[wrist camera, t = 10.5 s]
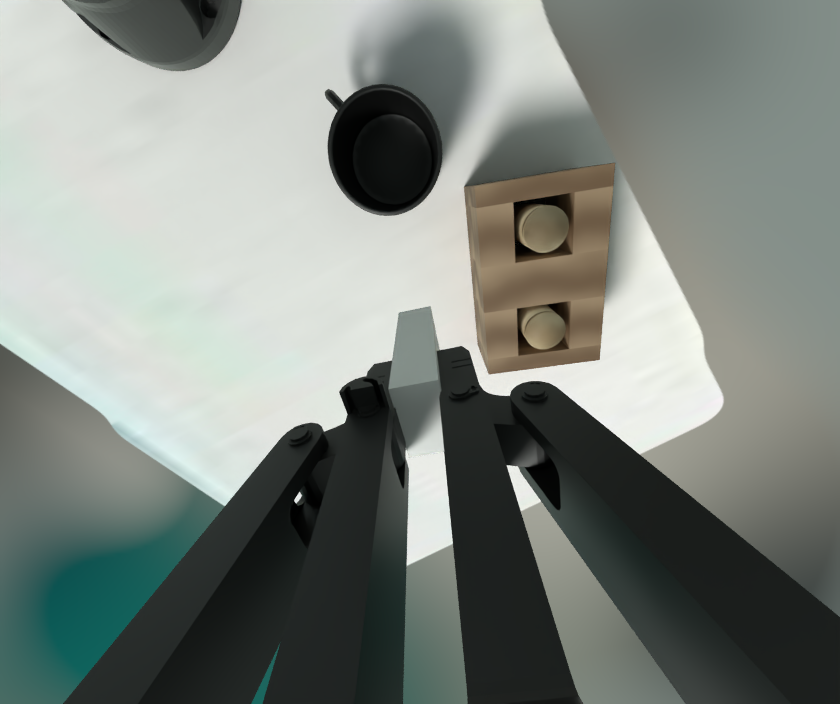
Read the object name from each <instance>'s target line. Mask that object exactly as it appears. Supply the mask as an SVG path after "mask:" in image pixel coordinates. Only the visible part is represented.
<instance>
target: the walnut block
mask: <svg viewBox="0 0 840 704" xmlns="http://www.w3.org/2000/svg"><path fill="white" fill-rule="evenodd" d="M614 171H615V163H610V164H603V165H595V166H588V167H580V168H574V169H568V170H561V171H555V172H549V173H543V174H537V175H531V176H525V177H519V178H513V179H507V180H501V181H495V182H489V183H483V184H477V185H471V186H465V187H464V192H465V203H466V215H467V226H468V237H469V249H470V260H471V272H472V283H473V295H474V306H475V318H476V329H477V341H478V347H479V349H480V352H481V355H482V357H483V360H484V363H485V365H486V368H487V371H488V373H489V374H495V373H503V372H511V371H518V370H526V369H534V368H541V367H549V366H556V365H564V364H572V363H579V362H587V361H595V360H600V348H601V335H602V323H603V310H604V297H605V285H606V272H607V260H608V247H609V234H610V222H611V209H612V197H613V184H614ZM542 197H545V205H551V206H556V207H558V208H560V209H561V210H563V211H564V213H565V214H566V216H567V218H568V222H569V229H568V233H567V236H566V238H565V240H564V241H563V243H562V244H561V245H560V246H559V247H557V248H556V249H554V250H552V251H550V252H546V253H540V252H536V251H534V250H532V249H530V248H528V247H527V246H519V247H515V239H514V208H513V202H518V201H524V200H530V199H536V198H542ZM545 304H547V305H548V306H549V307H550V308H551V309H552V310H553V311H554V312H555V313H556V314H558V315H559V316H560V317H561V318H562V319H563V321H564V323H565V326H566V330H565V334H564V337H563V338H562V340H561V341H560V342H559V343H558V344H557V345H555V346H554V347H552V348H549V349H537V348H534V347H533V346H531V345H530V344H529V343H528V341H527V340H526V338H525V337H524V335H523V334H522V332H521V331H520V330H519V328H518V327H517V308H524V307H531V306H538V305H545Z"/></svg>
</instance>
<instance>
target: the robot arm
mask: <svg viewBox="0 0 840 704" xmlns="http://www.w3.org/2000/svg"><path fill="white" fill-rule="evenodd" d="M62 1H63V2H64V3H65V4H66V5H67V6H68V7H69V8H70V9H71V10H73V11H74V12H75V13H76V14H77V15H78V16H79V17H80V18H81V19H82V20H83V21H84V22H85V23H86V24H87V25H88V26H89V27H90V28H91V29H92V30H93V31H94V32H95V33H96V34H97V35H99V36H100V37H101V38H102V39H103V40H105V41H106V42H107V43H109V44H110V45H112V46H113V47H115V48H116V49H118V50H119V51H121V52H123V53H125V54H126V55H128V56H130V57H133V58H135V59H137V60H139V61H141V62H143V63H146V64H148V65H150V66H153V67H156V68H159V69H164V70H170V71H186V70H191V69H195V68H198V67H200V66H202V65H204V64H206V63H208V62H209V61H211V60H212V59H213V58H215V57H216V56H217V55H218V54H219V53H220V52H221V51H222V49H223V48H224V47H225V45H226V44H227V42H228V40H229V39H230V37H231V35H232V33H233V30H234V28H235V25H236V21H237V18H238V14H239V8H240V0H62ZM339 393H340V395H341V398H342V401H343V403H344V406H345V409H346V411H347V414H348V415H347V418H346V422H345V423H344V424H342V425H340V426H338V427H335V428H333V429H330V430H328V431H325V432H324V431H323V429H322V427H321V426H320V425H319V424H316V423H307V424H302V425H300V426H296V427H294V428H293V429H291V430H290V431H288V432H287V433H286V434H285V435H284V436H283V437H282V438H281V439H280V440H279V441H278V442H277V444H276V445H275V446H274V447H273V449H272V450H271V451H270V452H269V453H268V455H267V456H266V457H265V458H264V460H263V461H262V462H261V463H260V464H259V466H258V467H257V468H256V469H255V471H254V472H253V473H252V474H251V475H250V477H249V478H248V479H247V480H246V481H245V483H244V484H243V485H242V486H241V488H240V489H239V490H238V491H237V492H236V494H235V495H234V496H233V497H232V499H231V500H230V501H229V502H228V503H227V505H226V506H225V507H224V508H223V510H222V511H221V512H220V513H219V514H218V516H217V517H216V518H215V520H213V522H212V523H211V524H210V525H209V527H208V528H207V529H206V530H205V532H204V533H203V534H202V535H201V536H200V538H199V539H198V540H197V541H196V542H195V544H194V545H193V546H192V547H191V548H190V550H189V551H188V552H187V553H186V555H185V556H184V557H183V558H182V559H181V561H180V562H179V564H177V566H176V567H175V568H174V569H173V570H172V572H171V573H170V574H169V575H168V577H167V578H166V579H165V580H164V581H163V583H162V584H161V585H160V586H159V588H158V589H157V590H156V591H155V593H154V594H153V595H152V596H151V597H150V598H149V600H148V601H147V602H146V603H145V605H144V606H143V607H142V609H140V611H139V612H138V613H137V614H136V616H135V617H134V618H133V619H132V620H131V622H130V623H129V624H128V625H127V627H126V628H125V629H124V630H123V631H122V633H121V634H120V635H119V636H118V637H117V639H116V640H115V641H114V642H113V644H112V645H111V646H110V647H109V648H108V650H107V651H106V652H105V653H104V655H103V656H102V657H101V658H100V660H99V661H98V662H97V663H96V664H95V665H94V667H93V668H92V669H91V670H90V672H89V673H88V674H87V675H86V676H85V678H84V679H83V680H82V681H81V683H80V684H79V685H78V686H77V687H76V689H75V690H74V691H73V692H72V694H71V695H70V696H69V697H68V698H67V700H66V701H65V702H64V703H63V704H251V703H252V701H253V699H254V697H255V694H256V692H257V690H258V688H259V686H260V684H261V682H262V679H263V678H264V675H265V673H266V671H267V669H268V667H269V665H270V663H271V661H272V659H273V657H274V654H275V652H276V650H277V648H278V645H279V644H280V646H279V650H278V653H277V656H276V660H275V663H274V667H273V671H272V674H271V677H270V680H269V684H268V687H267V691H266V694H265V697H264V701H263V704H403V678H404V676H403V675H404V637H405V599H406V598H405V597H406V560H407V521H408V482H409V469H408V465H407V461H406V458H405V451H406V450H407V453H408V456H409V458H411V457H417V456H423V455H429V454H435V453H441V452H444V454H445V465H446V475H447V486H448V496H449V506H450V517H451V527H452V538H453V548H454V559H455V568H456V579H457V590H458V601H459V610H460V620H461V631H462V642H463V652H464V662H465V673H466V683H467V696H468V704H583V702H582V701H581V699H580V697H579V696H578V693H577V690H576V688H575V685H574V682H573V679H572V676H571V673H570V670H569V666H568V663H567V660H566V657H565V654H564V650H563V647H562V644H561V641H560V637H559V634H558V631H557V628H556V624H555V621H554V618H553V615H552V611H551V608H550V605H549V602H548V599H547V596H546V592H545V589H544V586H543V582H542V579H541V576H540V573H539V570H538V566H537V563H536V560H535V557H534V553H533V550H532V547H531V544H530V540H529V537H528V534H527V531H526V528H525V524H524V521H523V518H522V515H521V511H520V508H519V505H518V501H517V498H516V495H515V492H514V489H513V485H512V482H511V479H510V476H509V472H508V469H507V466H506V465H511V466H518V467H519V469H520V472H521V473H522V475H523V476H524V478H525V479H526V480H527V482H528V483H529V485H530V486H531V487H532V489H533V490H534V492H535V493H536V494H537V496H538V497H539V499H540V500H541V501H542V503H543V504H544V506H545V507H546V508H547V510H548V511H549V512H550V514H551V515H552V517H553V518H554V520H555V521H556V522H557V524H558V525H559V527H560V528H561V530H562V531H563V532H564V534H565V535H566V537H567V538H568V539H569V541H570V542H571V544H572V545H573V546H574V548H575V549H576V551H577V552H578V553H579V555H580V556H581V557H582V559H583V560H584V562H585V563H586V565H587V566H588V567H589V569H590V570H591V572H592V573H593V574H594V576H595V577H596V579H597V580H598V581H599V583H600V584H601V586H602V587H603V588H604V590H605V591H606V593H607V594H608V596H609V597H610V598H611V600H612V601H613V603H614V604H615V605H616V607H617V608H618V609H619V611H620V612H621V614H622V615H623V616H624V618H625V619H626V621H627V622H628V623H629V625H630V626H631V628H632V629H633V630H634V632H635V633H636V635H637V636H638V638H639V639H640V640H641V642H642V643H643V645H644V646H645V647H646V649H647V650H648V652H649V653H650V654H651V656H652V657H653V659H654V660H655V662H656V663H657V664H658V666H659V667H660V668H661V670H662V671H663V673H664V674H665V676H666V677H667V678H668V680H669V681H670V683H671V684H672V685H673V687H674V688H675V689H676V691H677V692H678V694H679V695H680V697H681V698H682V699H683V701H684V702H685V703H686V704H840V617H839V616H838V615H836V614H835V613H834V612H833V611H832V610H830V609H829V608H828V607H827V606H825V605H824V604H823V603H822V602H821V601H819V600H818V599H817V598H816V597H814V596H813V595H812V594H811V593H809V592H808V591H807V590H806V589H805V588H803V587H802V586H801V585H800V584H798V583H797V582H796V581H795V580H793V579H792V578H791V577H790V576H789V575H787V574H786V573H785V572H784V571H782V570H781V569H780V568H779V567H777V566H776V565H775V564H774V563H772V562H771V561H770V560H769V559H767V558H766V557H765V556H764V555H763V554H761V553H760V552H759V551H758V550H756V549H755V548H754V547H753V546H752V545H750V544H749V543H748V542H746V541H745V540H744V539H743V538H742V537H740V536H739V535H738V534H737V533H736V532H734V531H733V530H732V529H731V528H729V527H728V526H727V525H726V524H724V523H723V522H722V521H721V520H720V519H718V518H717V517H716V516H715V515H713V514H712V513H711V512H710V511H708V510H707V509H706V508H705V507H703V506H702V505H701V504H700V503H698V502H697V501H696V500H695V499H694V498H692V497H691V496H690V495H689V494H687V493H686V492H685V491H684V490H683V489H681V488H680V487H679V486H678V485H676V484H675V483H674V482H672V481H671V480H670V479H669V478H667V477H666V476H665V475H664V474H663V473H662V472H660V471H659V470H658V469H657V468H655V467H654V466H653V465H652V464H650V463H649V462H648V461H647V460H645V459H644V458H643V457H642V456H641V455H639V454H638V453H637V452H636V451H634V450H633V449H632V448H631V447H630V446H628V445H627V444H626V443H625V442H623V441H622V440H621V439H620V438H618V437H617V436H616V435H615V434H614V433H612V432H611V431H610V430H609V429H607V428H606V427H605V426H604V425H602V424H601V423H600V422H599V421H597V420H596V419H595V418H594V417H593V416H591V415H590V414H589V413H588V412H586V411H585V410H584V409H583V408H581V407H580V406H579V405H578V404H577V403H575V402H574V401H573V400H572V399H570V398H569V397H568V396H567V395H565V394H564V393H563V392H562V391H561V390H559V389H558V388H557V387H555V386H553V385H552V384H550V383H546V382H541V381H531V382H526V383H522V384H520V385H518V386H516V387H515V388H514V389H513V390H512V391H511V394H510V396H498V395H493V394H489V393H487V392H485V391H484V390H483V389H482V388H481V386H480V385H479V382H478V379H477V376H476V372H475V369H474V366H473V362H472V359H471V356H470V353H469V351H468V350H467V349H465V348H464V347H462V346H460V347H455V348H450V349H445V350H440V349H439V344H438V340H437V335H436V330H435V325H434V321H433V316H432V311H431V306H430V307H425V308H420V309H415V310H410V311H405V312H400V313H399V316H398V323H397V330H396V337H395V345H394V352H393V359H392V361H388V362H383V363H378V364H374V365H373V366H372V367H371V369H370V370H369V371H368V373H367V376H366V377H361V378H358V379H355V380H353V381H351V382H349V383H347V384H346V385H345V386H344V387H342V389H341V390H340V392H339ZM299 492H300V493H301V494H302V497H301V499H300V500H299V501H298V503H297V504H296V503H295V502H294V499H295V498H296V496H297V495H298V493H299ZM280 642H281V643H280Z"/></svg>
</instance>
